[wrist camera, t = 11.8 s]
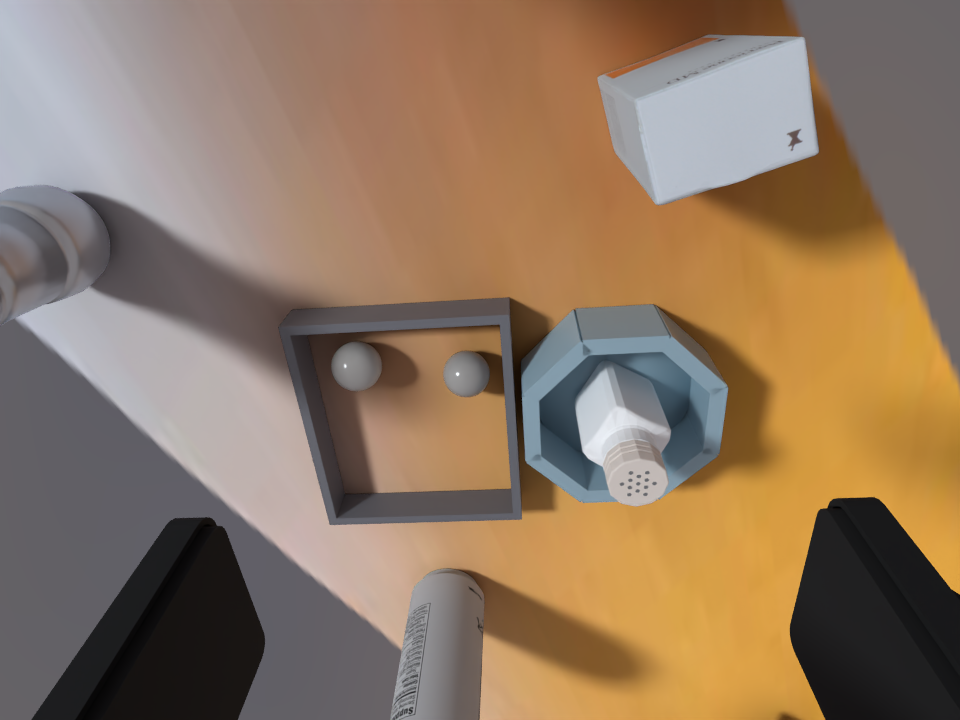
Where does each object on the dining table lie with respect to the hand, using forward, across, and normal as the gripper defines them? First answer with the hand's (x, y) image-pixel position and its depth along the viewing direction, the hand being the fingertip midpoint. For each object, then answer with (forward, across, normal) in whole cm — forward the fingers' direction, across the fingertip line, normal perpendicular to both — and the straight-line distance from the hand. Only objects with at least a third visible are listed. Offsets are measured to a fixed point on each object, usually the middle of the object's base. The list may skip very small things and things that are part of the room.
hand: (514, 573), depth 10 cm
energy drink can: (+28, +7, +33) cm, 44 cm away
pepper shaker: (+28, -6, +14) cm, 32 cm away
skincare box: (+28, -8, -4) cm, 30 cm away
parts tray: (+28, +8, +15) cm, 33 cm away
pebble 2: (+28, +4, +12) cm, 31 cm away
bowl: (+28, -6, +14) cm, 32 cm away
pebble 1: (+28, +10, +10) cm, 32 cm away
